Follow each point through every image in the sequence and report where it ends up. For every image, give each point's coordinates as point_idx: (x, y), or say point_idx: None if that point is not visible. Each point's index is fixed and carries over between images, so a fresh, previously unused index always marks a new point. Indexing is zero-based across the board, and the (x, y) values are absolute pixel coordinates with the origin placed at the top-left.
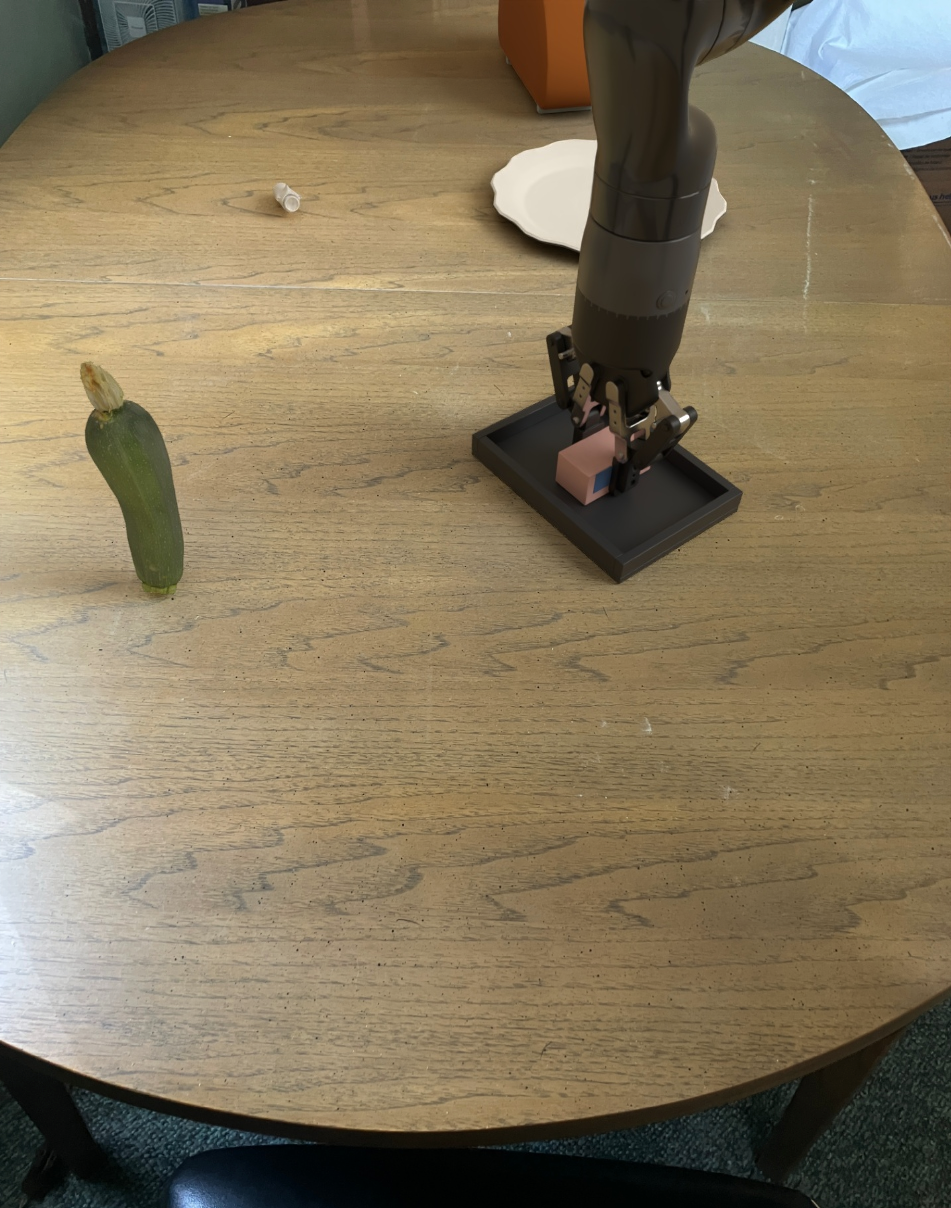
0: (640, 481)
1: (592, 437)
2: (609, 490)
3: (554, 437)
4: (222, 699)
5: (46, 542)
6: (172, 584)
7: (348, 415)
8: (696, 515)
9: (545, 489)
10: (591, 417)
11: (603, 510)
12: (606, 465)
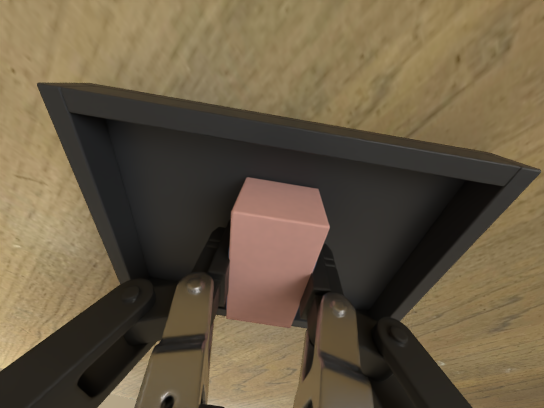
0: None
1: (234, 281)
2: None
3: (170, 219)
4: (242, 401)
5: (115, 390)
6: None
7: (45, 296)
8: (448, 262)
9: None
10: (211, 316)
11: None
12: (294, 308)
